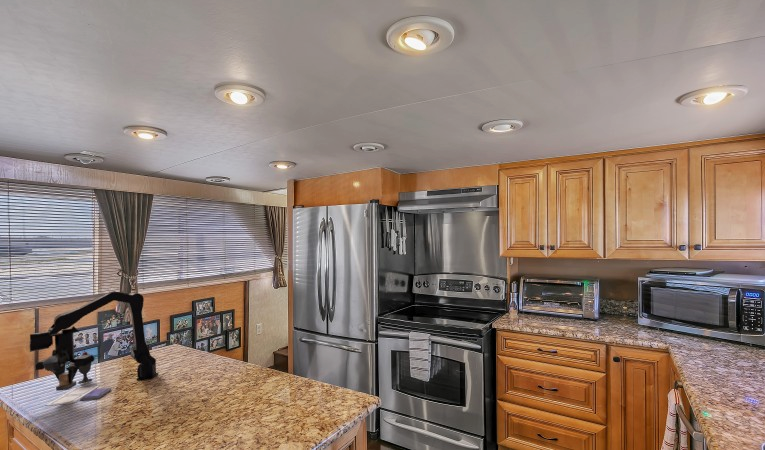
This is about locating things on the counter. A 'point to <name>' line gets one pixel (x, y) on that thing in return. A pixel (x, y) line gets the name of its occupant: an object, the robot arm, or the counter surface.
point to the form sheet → (72, 396)
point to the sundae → (85, 370)
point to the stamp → (65, 382)
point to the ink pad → (95, 394)
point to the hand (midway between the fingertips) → (66, 383)
